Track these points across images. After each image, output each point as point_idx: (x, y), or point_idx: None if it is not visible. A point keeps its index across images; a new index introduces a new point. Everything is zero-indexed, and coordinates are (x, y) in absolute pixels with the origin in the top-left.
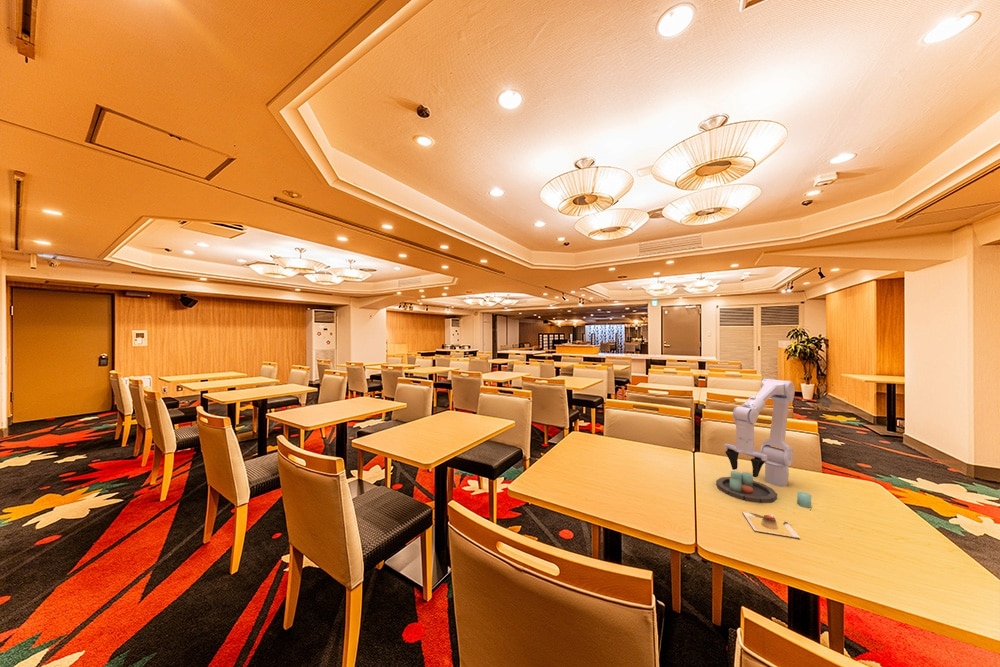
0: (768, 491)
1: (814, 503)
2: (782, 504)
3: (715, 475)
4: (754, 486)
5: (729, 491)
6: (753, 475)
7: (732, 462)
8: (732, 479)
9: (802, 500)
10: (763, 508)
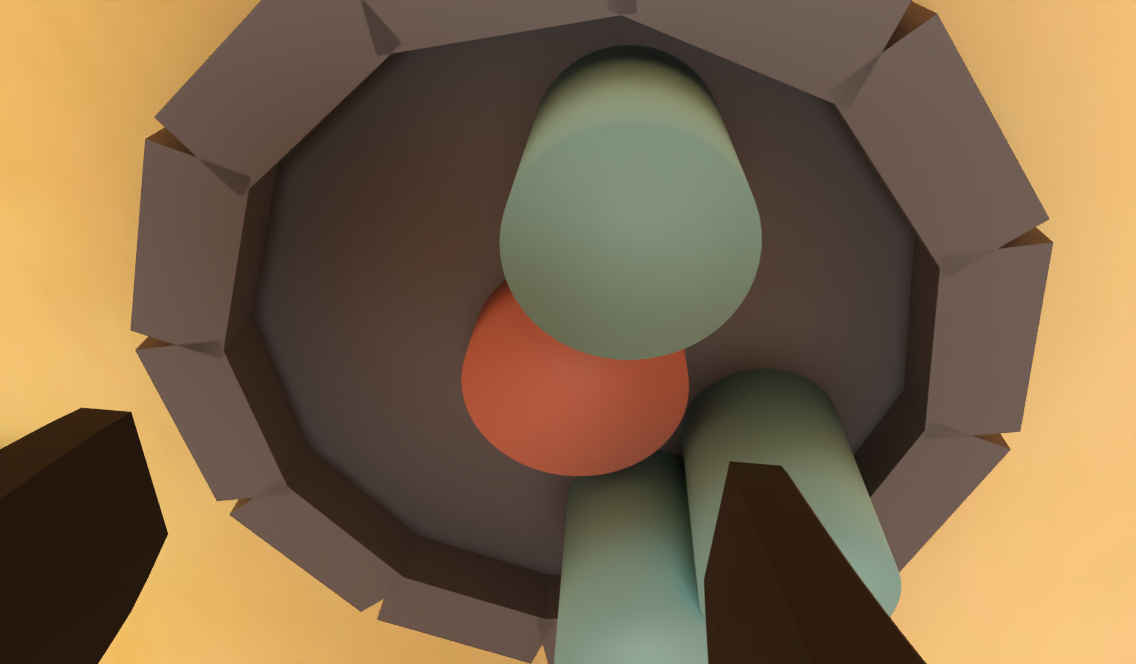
0: (350, 521)
1: (117, 657)
2: None
3: (1123, 551)
4: None
5: None
6: (78, 434)
7: (812, 660)
8: (689, 216)
9: None
10: (131, 39)
